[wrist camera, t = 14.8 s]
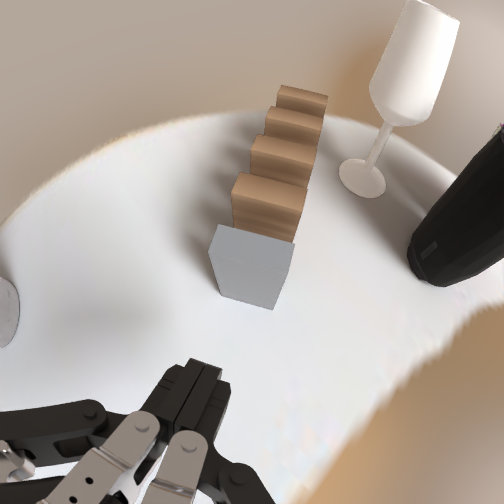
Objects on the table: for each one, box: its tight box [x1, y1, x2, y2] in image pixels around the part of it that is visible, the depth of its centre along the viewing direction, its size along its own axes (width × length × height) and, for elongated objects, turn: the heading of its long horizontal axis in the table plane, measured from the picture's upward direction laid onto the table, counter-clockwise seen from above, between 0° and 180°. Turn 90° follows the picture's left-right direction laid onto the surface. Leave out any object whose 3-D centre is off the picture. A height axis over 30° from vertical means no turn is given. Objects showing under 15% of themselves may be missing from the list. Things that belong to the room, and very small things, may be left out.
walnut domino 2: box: [264, 106, 323, 148], centre depth 27 cm, size 2×5×10 cm, turn 73°
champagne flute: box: [339, 0, 460, 198], centre depth 22 cm, size 7×7×24 cm
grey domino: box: [208, 224, 295, 310], centre depth 21 cm, size 2×5×10 cm, turn 74°
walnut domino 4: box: [231, 172, 308, 243], centre depth 23 cm, size 2×5×10 cm, turn 73°
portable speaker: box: [407, 124, 504, 287], centre depth 19 cm, size 9×9×20 cm
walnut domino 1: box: [276, 85, 328, 118], centre depth 29 cm, size 2×5×10 cm, turn 73°
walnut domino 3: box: [250, 134, 317, 189], centre depth 25 cm, size 2×5×10 cm, turn 73°
